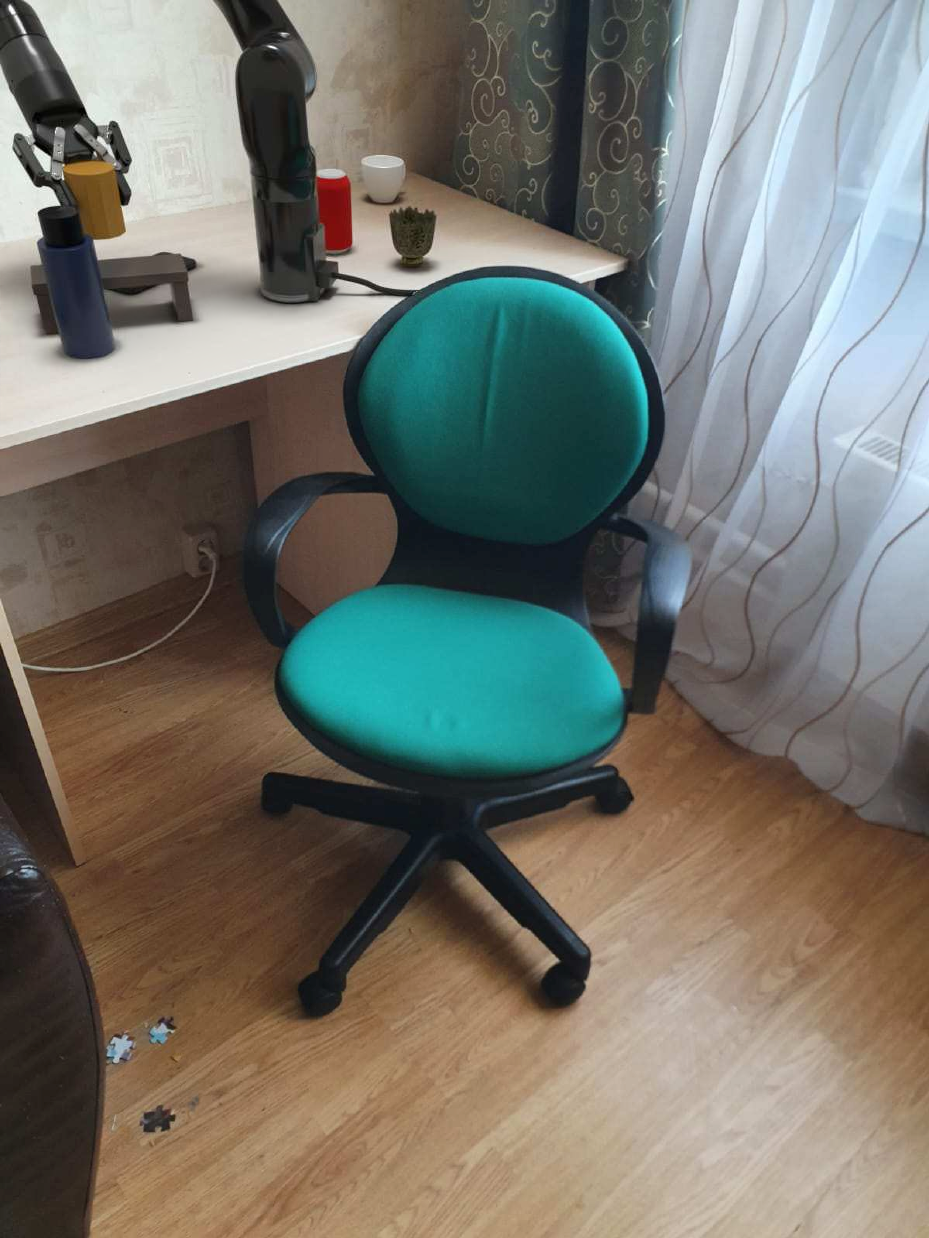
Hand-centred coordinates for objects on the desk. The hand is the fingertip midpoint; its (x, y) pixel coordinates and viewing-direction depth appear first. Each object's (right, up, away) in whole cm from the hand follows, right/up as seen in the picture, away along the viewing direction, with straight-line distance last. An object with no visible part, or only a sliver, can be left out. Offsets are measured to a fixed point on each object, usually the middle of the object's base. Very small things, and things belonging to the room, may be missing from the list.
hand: (101, 207), depth 123 cm
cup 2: (+39, +4, +31) cm, 50 cm away
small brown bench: (-2, -11, +11) cm, 16 cm away
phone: (-1, -1, +23) cm, 23 cm away
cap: (-1, -2, +3) cm, 4 cm away
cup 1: (+33, +26, +56) cm, 70 cm away
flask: (-3, -17, +3) cm, 18 cm away
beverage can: (+26, +8, +35) cm, 44 cm away
